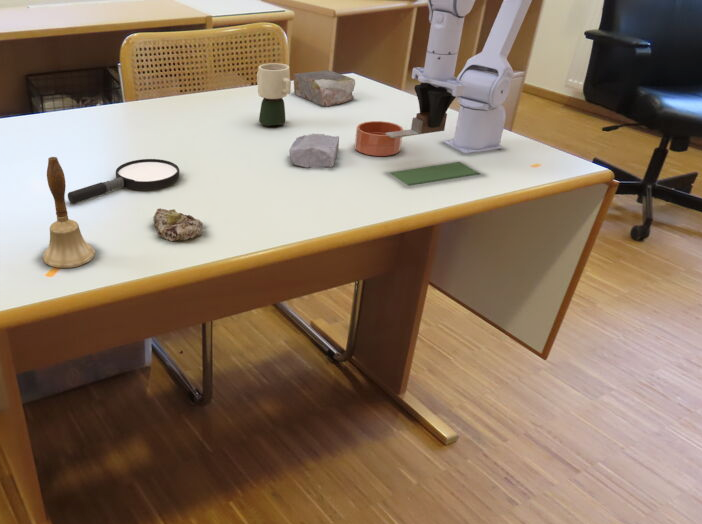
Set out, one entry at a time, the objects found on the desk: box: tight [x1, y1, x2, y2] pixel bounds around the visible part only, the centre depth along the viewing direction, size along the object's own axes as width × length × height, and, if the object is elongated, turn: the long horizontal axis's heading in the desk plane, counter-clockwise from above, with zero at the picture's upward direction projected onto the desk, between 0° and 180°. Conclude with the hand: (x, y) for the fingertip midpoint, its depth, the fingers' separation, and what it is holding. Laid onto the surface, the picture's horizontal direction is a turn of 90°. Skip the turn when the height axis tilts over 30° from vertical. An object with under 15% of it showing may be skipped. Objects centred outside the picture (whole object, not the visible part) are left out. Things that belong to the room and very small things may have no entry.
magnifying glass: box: [67, 158, 180, 205], centre depth 132 cm, size 12×24×2 cm, turn 132°
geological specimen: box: [293, 70, 356, 107], centre depth 180 cm, size 11×6×15 cm
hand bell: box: [42, 156, 96, 269], centre depth 105 cm, size 8×8×16 cm
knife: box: [386, 112, 448, 138], centre depth 135 cm, size 12×3×3 cm, turn 110°
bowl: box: [354, 120, 404, 157], centre depth 146 cm, size 10×10×5 cm
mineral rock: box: [152, 207, 204, 242], centre depth 116 cm, size 11×4×8 cm
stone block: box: [288, 133, 340, 169], centre depth 144 cm, size 12×5×10 cm
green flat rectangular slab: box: [389, 161, 481, 187], centre depth 136 cm, size 17×7×1 cm, turn 110°
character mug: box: [256, 62, 292, 127], centre depth 159 cm, size 11×7×13 cm, turn 39°
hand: (430, 124), depth 136 cm, fingers closed on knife, 2 cm apart
